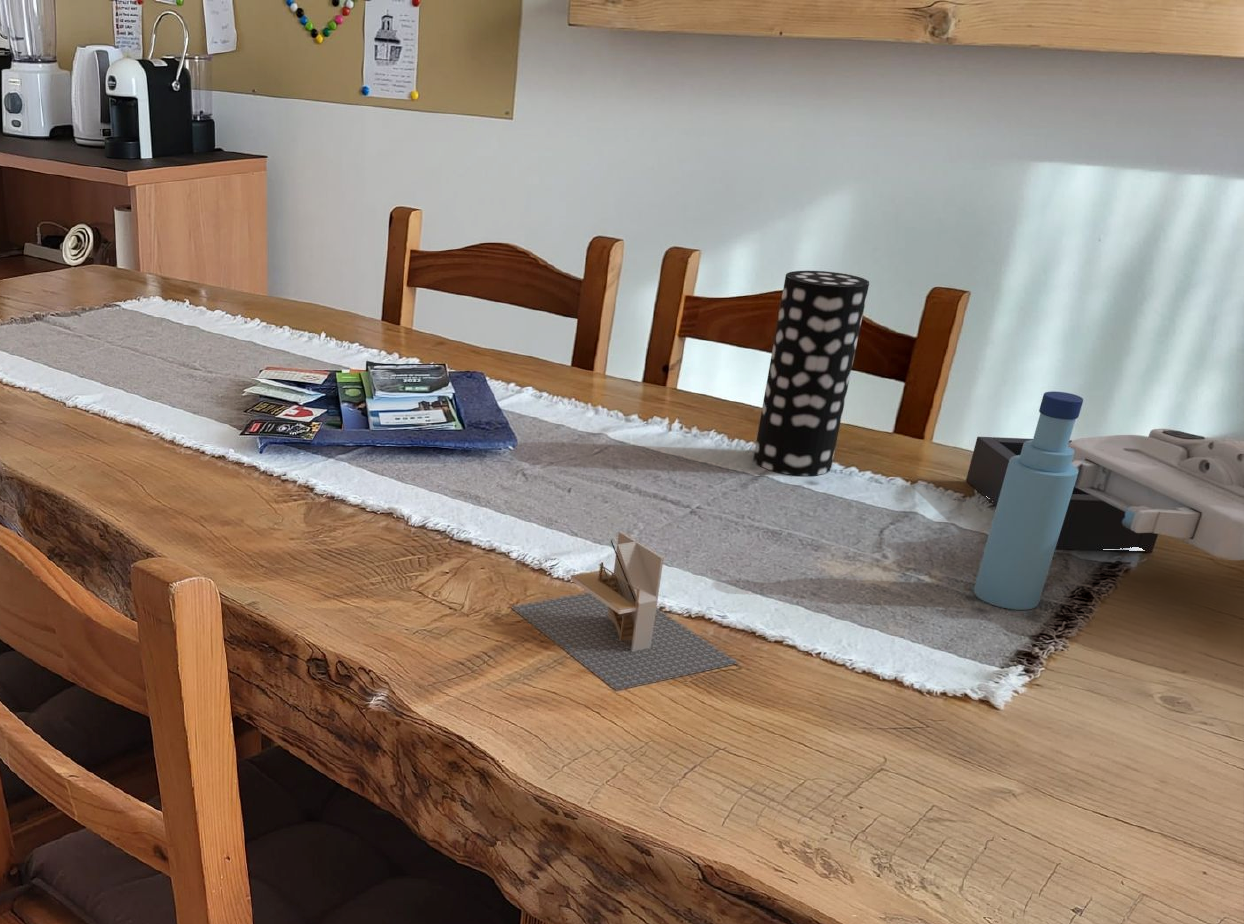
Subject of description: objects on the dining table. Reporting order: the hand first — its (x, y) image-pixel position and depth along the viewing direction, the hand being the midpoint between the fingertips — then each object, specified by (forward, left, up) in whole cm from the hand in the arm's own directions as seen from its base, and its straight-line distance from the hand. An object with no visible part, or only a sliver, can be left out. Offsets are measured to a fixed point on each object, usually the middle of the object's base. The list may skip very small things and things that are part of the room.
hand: (1089, 499), depth 105 cm
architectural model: (+40, +11, -9) cm, 42 cm away
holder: (-9, -20, -9) cm, 24 cm away
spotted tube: (+14, -33, -9) cm, 37 cm away
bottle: (+5, +1, -9) cm, 10 cm away
